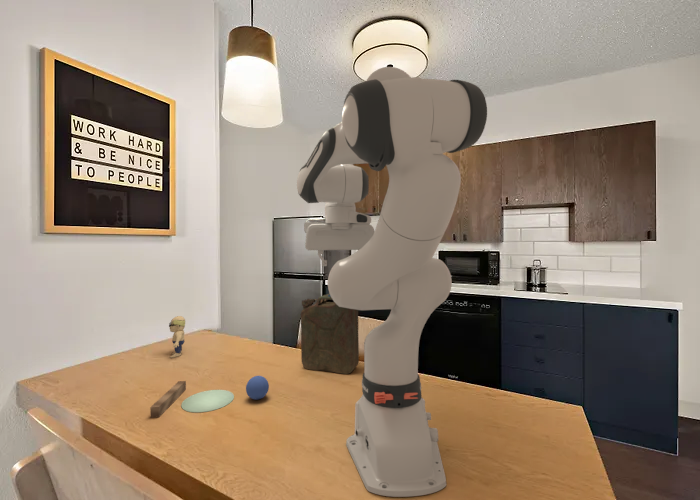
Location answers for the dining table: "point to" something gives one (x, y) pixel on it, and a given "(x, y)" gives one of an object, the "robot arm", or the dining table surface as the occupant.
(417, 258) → the robot arm
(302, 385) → the dining table surface
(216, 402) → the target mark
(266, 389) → the ball
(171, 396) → the brown bar
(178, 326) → the toy
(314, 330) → the canister
